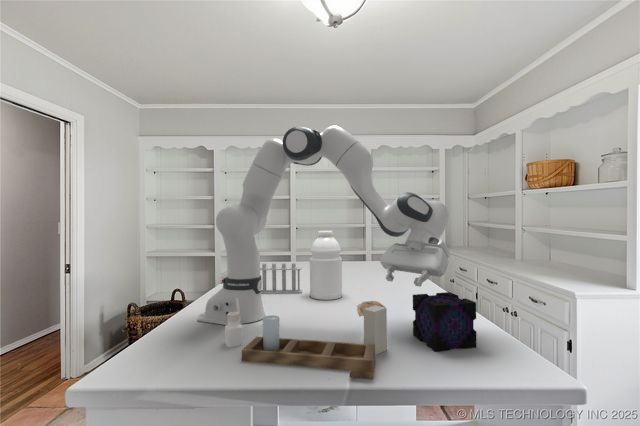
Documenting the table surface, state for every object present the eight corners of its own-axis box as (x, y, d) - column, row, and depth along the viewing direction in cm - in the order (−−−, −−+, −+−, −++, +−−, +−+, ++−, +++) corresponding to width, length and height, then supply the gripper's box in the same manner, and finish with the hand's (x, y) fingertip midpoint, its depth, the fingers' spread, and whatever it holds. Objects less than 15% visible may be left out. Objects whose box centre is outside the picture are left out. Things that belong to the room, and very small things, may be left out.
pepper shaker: (224, 348, 92) (224, 312, 92) (239, 345, 94) (238, 310, 94) (228, 353, 89) (227, 316, 89) (243, 350, 91) (243, 314, 91)
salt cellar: (260, 357, 82) (260, 320, 82) (266, 350, 86) (266, 315, 86) (276, 358, 81) (276, 321, 81) (282, 352, 85) (281, 315, 85)
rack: (241, 367, 81) (241, 350, 81) (256, 351, 89) (256, 336, 89) (372, 379, 74) (372, 360, 74) (375, 361, 83) (375, 344, 83)
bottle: (311, 292, 154) (310, 230, 154) (341, 292, 154) (341, 229, 154) (309, 300, 140) (308, 232, 140) (342, 300, 140) (342, 231, 140)
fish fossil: (389, 325, 110) (389, 321, 110) (357, 327, 111) (357, 323, 111) (380, 302, 136) (379, 299, 136) (354, 304, 137) (354, 301, 137)
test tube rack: (245, 294, 153) (245, 264, 153) (247, 291, 157) (247, 263, 157) (301, 293, 153) (301, 264, 153) (302, 291, 157) (302, 262, 157)
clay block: (364, 351, 89) (363, 309, 89) (376, 346, 92) (375, 305, 92) (374, 355, 86) (374, 311, 86) (386, 349, 90) (386, 307, 90)
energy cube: (450, 332, 102) (449, 292, 102) (476, 347, 91) (476, 302, 91) (413, 335, 100) (412, 294, 100) (435, 352, 88) (434, 305, 88)
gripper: (387, 236, 110) (368, 271, 104) (448, 240, 95) (430, 280, 89) (396, 249, 113) (377, 283, 107) (456, 255, 98) (439, 295, 92)
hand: (402, 282), depth 98 cm, fingers open, 8 cm apart
